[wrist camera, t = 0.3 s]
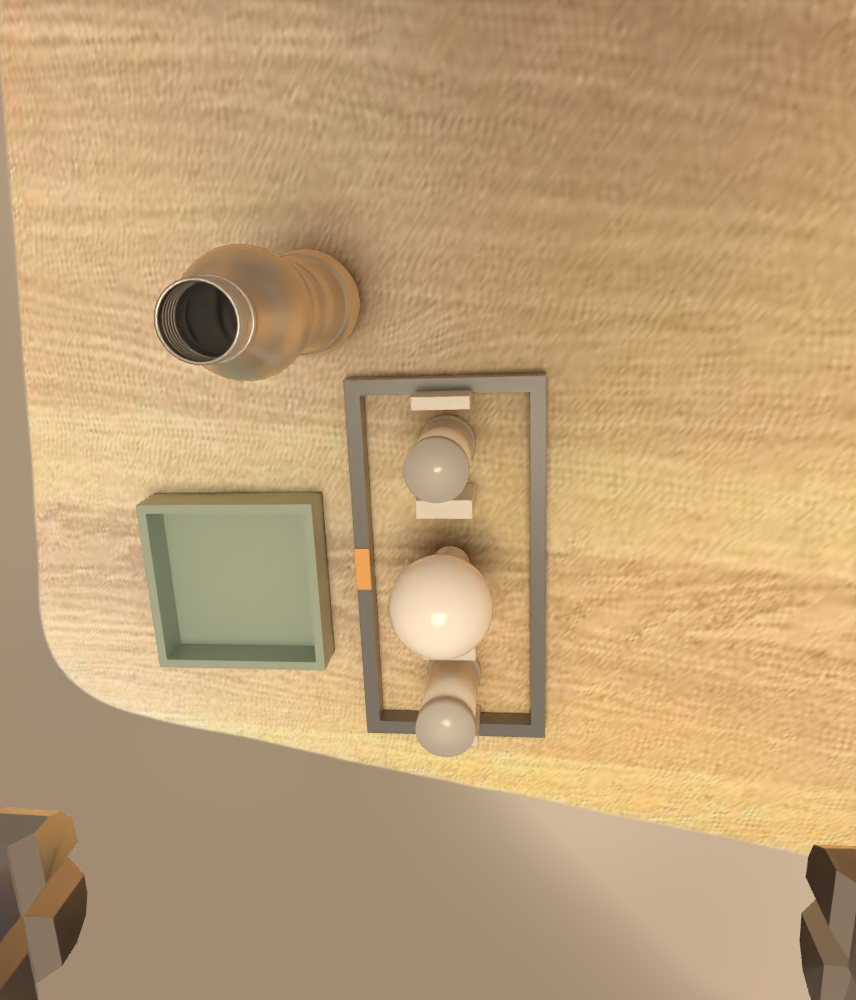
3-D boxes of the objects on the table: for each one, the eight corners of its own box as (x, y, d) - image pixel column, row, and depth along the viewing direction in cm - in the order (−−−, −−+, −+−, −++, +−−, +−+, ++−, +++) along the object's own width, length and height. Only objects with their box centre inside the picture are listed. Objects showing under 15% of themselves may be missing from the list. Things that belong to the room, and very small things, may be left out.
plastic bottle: (259, 255, 50) (102, 247, 31) (362, 244, 50) (264, 229, 31) (274, 356, 52) (133, 406, 33) (373, 347, 51) (287, 394, 32)
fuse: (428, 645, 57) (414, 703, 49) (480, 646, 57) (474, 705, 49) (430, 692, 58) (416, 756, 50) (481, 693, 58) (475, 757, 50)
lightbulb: (515, 567, 55) (514, 638, 44) (446, 619, 56) (430, 699, 46) (456, 500, 54) (441, 556, 43) (388, 554, 55) (357, 621, 45)
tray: (155, 493, 56) (135, 505, 53) (322, 492, 55) (311, 504, 52) (177, 647, 59) (159, 667, 57) (334, 650, 58) (325, 670, 55)
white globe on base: (418, 414, 52) (401, 439, 45) (475, 413, 52) (467, 438, 44) (420, 470, 53) (404, 503, 46) (476, 469, 53) (469, 503, 45)
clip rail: (348, 377, 52) (334, 386, 48) (545, 372, 51) (547, 381, 47) (371, 721, 59) (361, 752, 56) (544, 726, 58) (546, 758, 54)
